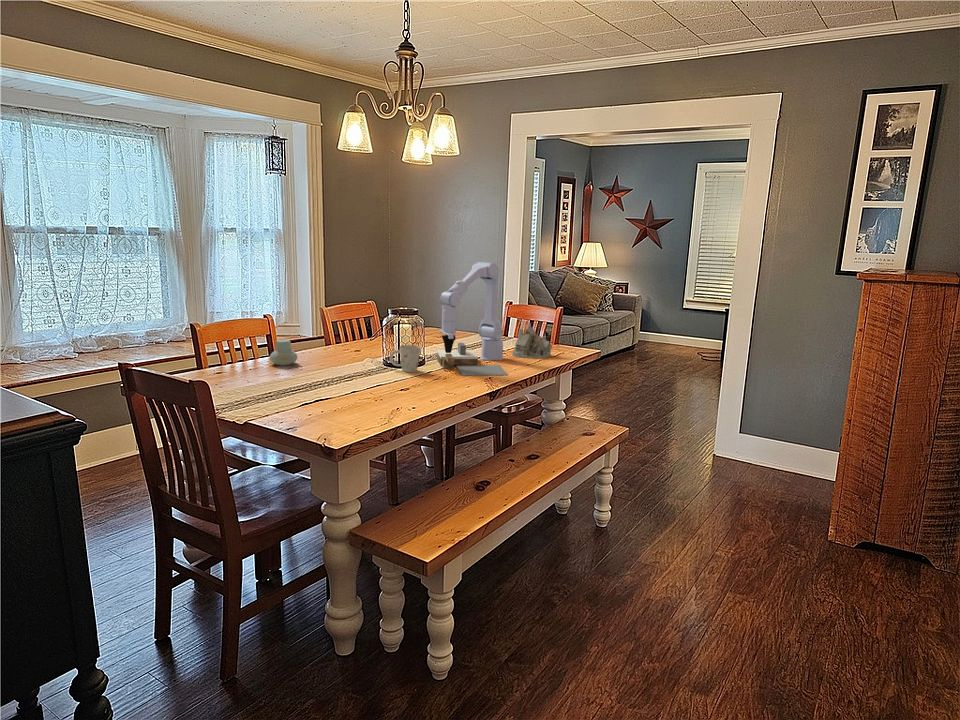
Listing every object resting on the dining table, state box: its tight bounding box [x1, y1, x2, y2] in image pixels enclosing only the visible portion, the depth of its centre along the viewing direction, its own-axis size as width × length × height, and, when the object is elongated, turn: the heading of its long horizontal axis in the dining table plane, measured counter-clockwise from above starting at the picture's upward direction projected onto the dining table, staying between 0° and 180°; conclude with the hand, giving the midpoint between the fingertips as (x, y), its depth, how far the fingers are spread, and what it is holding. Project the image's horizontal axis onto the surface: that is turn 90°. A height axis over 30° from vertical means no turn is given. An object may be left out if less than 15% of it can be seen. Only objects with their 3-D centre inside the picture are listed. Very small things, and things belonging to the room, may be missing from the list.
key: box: [445, 354, 454, 363], centre depth 263 cm, size 2×8×2 cm, turn 11°
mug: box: [389, 344, 421, 373], centre depth 260 cm, size 8×13×10 cm, turn 89°
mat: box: [455, 364, 509, 377], centre depth 266 cm, size 19×17×1 cm
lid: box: [436, 342, 479, 360], centre depth 279 cm, size 16×14×6 cm
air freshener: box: [269, 339, 298, 367], centre depth 263 cm, size 11×8×10 cm
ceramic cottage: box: [511, 322, 553, 359], centre depth 298 cm, size 16×16×15 cm
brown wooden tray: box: [436, 352, 479, 370], centre depth 277 cm, size 16×20×4 cm
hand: (448, 352), depth 267 cm, fingers closed
